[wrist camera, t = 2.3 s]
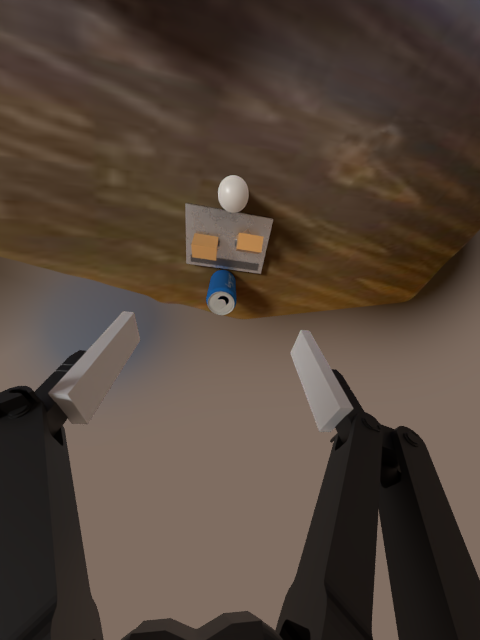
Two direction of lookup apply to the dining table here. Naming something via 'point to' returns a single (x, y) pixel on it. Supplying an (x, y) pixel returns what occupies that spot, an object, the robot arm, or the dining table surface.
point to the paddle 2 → (249, 243)
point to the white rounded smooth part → (233, 194)
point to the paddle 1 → (205, 246)
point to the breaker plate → (226, 236)
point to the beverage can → (221, 292)
